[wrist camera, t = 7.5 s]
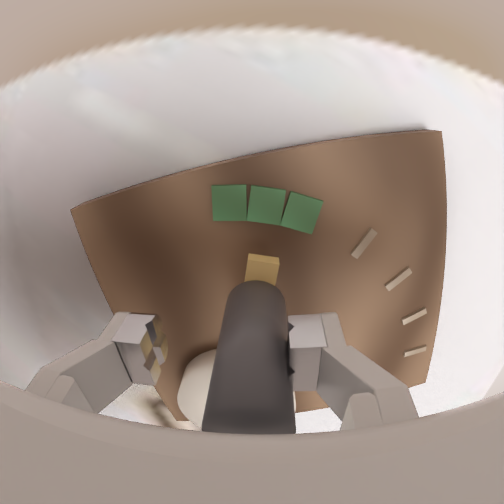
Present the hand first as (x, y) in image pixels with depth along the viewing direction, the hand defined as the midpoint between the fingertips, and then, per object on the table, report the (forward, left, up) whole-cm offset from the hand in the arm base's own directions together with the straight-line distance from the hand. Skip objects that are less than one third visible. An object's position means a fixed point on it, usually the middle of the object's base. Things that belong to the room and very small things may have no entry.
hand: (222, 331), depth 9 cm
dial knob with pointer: (-1, -5, -5) cm, 8 cm away
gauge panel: (+1, -4, -7) cm, 8 cm away
